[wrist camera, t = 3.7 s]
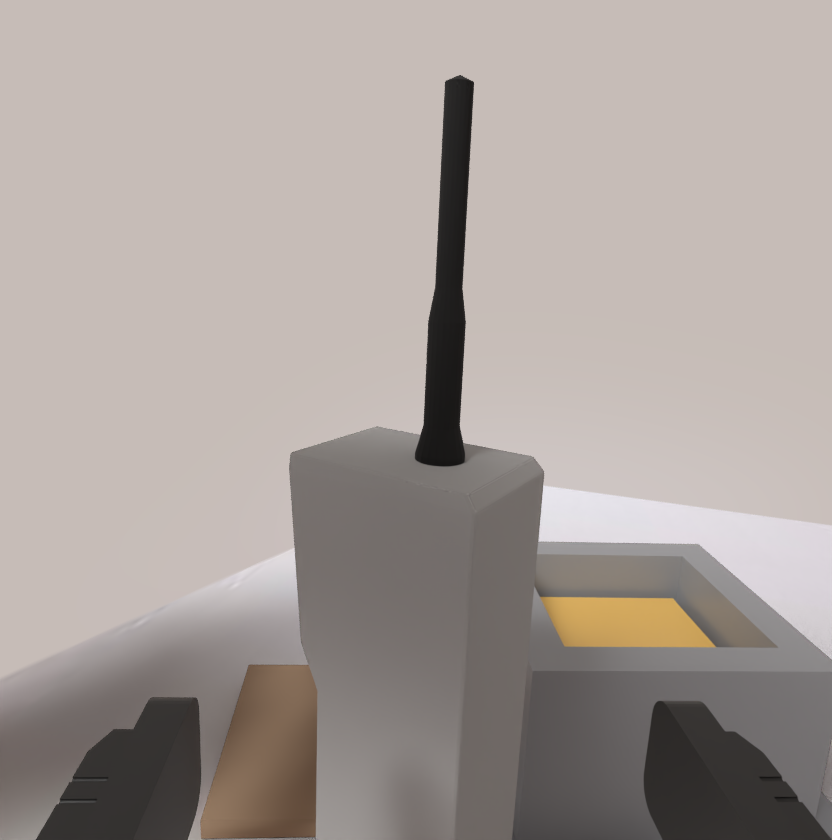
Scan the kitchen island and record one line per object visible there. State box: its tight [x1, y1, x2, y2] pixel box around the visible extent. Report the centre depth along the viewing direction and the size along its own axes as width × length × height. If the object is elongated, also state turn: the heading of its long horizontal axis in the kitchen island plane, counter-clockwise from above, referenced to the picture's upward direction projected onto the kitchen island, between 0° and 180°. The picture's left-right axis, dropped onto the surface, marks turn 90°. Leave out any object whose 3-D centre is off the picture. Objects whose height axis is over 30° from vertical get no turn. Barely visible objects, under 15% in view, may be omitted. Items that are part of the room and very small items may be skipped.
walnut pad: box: [201, 665, 318, 838], centre depth 30 cm, size 9×10×1 cm
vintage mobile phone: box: [289, 75, 544, 840], centre depth 17 cm, size 4×5×25 cm
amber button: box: [540, 597, 716, 647], centre depth 29 cm, size 7×7×3 cm
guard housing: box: [512, 542, 832, 840], centre depth 29 cm, size 15×14×8 cm
